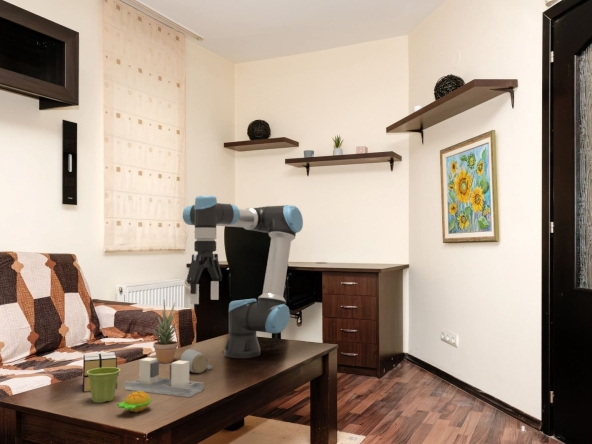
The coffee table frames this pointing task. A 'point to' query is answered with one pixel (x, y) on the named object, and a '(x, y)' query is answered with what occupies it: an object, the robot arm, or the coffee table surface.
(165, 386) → the rail
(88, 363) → the puzzle cube
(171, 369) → the beige jaw block
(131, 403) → the yellow green oval
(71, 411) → the coffee table surface
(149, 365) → the block
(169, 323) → the potted plant
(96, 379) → the plant pot
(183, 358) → the ceramic mug
